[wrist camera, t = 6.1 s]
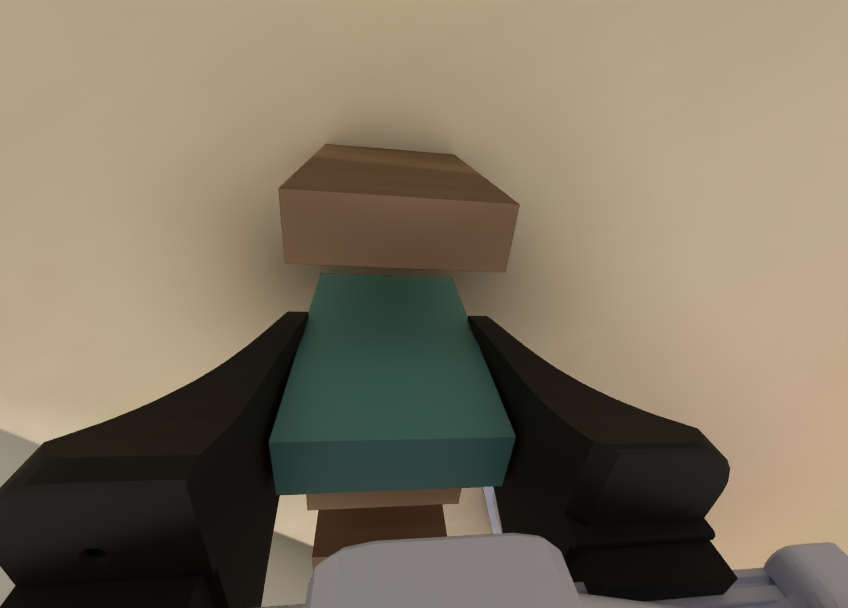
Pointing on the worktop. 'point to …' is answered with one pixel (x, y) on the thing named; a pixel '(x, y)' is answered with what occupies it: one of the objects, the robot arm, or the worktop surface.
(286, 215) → the walnut domino
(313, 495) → the walnut domino
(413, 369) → the teal domino
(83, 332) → the worktop surface
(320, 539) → the walnut domino
